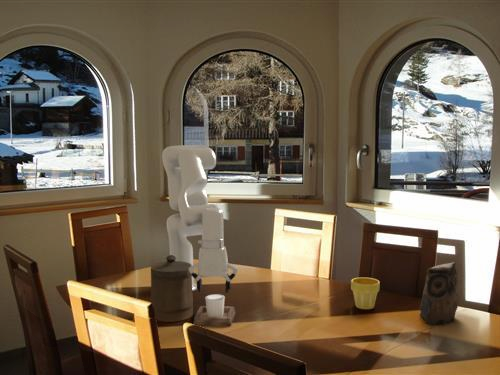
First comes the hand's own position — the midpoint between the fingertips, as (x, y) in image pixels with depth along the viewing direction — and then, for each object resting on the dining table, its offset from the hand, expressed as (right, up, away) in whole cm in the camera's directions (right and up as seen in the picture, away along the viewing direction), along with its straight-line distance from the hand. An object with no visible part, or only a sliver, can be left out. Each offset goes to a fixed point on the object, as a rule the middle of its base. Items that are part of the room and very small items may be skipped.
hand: (213, 291), depth 196 cm
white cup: (+1, -9, +1) cm, 9 cm away
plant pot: (+55, -8, +11) cm, 57 cm away
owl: (+77, -9, -3) cm, 78 cm away
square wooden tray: (0, -10, +1) cm, 10 cm away
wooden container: (-15, -10, +5) cm, 19 cm away
